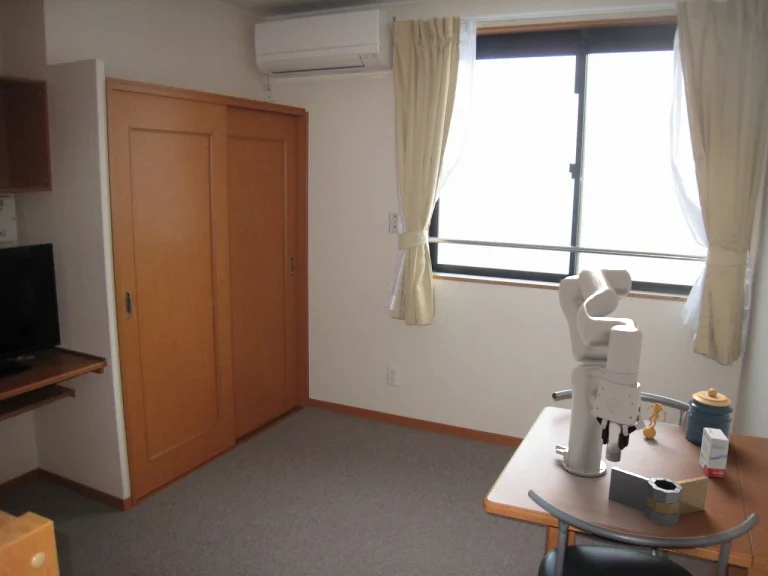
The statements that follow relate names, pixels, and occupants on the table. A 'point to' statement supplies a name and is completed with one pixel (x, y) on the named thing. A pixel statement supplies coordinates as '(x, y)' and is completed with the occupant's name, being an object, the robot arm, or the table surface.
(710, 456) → the ink box
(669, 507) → the bronze hinge leaf
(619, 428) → the hinge pin
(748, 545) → the table surface
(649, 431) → the figurine
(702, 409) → the canister
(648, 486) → the fixed hinge leaf
